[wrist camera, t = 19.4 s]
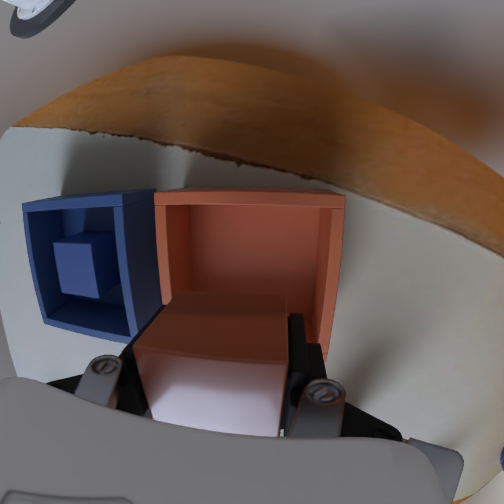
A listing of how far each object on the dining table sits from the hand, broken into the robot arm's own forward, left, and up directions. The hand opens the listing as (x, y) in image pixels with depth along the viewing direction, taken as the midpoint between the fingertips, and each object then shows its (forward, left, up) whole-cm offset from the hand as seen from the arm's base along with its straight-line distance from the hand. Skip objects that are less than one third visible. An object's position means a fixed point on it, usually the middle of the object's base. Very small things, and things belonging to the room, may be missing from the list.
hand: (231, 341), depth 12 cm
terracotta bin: (0, 0, -12) cm, 12 cm away
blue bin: (0, -14, -12) cm, 18 cm away
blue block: (0, -14, -11) cm, 18 cm away
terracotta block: (0, 0, 0) cm, 0 cm away
